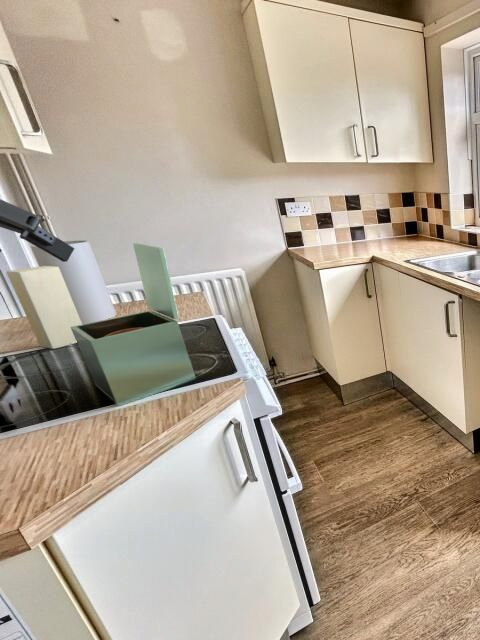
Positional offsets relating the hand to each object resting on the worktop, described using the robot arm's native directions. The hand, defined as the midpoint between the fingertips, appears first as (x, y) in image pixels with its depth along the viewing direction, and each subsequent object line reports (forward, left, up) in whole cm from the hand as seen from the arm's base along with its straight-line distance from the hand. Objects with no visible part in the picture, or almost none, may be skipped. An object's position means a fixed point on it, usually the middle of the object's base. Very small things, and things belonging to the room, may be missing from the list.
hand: (32, 255), depth 72 cm
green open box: (-5, +9, -30) cm, 31 cm away
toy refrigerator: (-58, +5, -30) cm, 66 cm away
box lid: (-5, +16, -8) cm, 19 cm away
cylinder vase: (-78, +15, -30) cm, 85 cm away
